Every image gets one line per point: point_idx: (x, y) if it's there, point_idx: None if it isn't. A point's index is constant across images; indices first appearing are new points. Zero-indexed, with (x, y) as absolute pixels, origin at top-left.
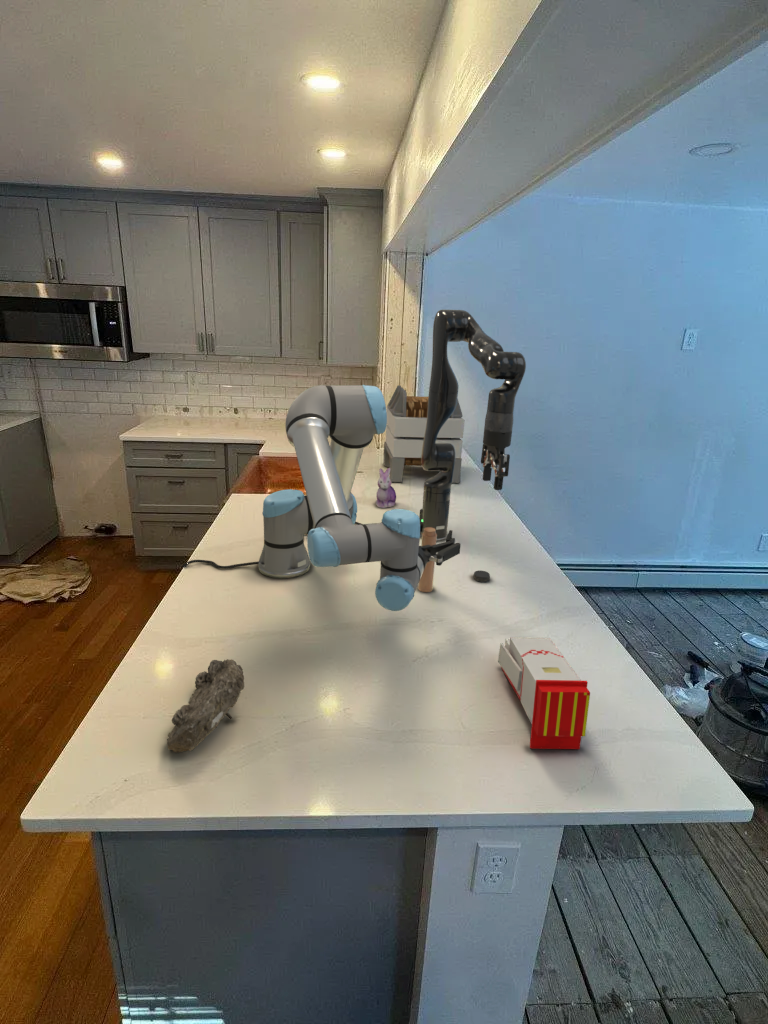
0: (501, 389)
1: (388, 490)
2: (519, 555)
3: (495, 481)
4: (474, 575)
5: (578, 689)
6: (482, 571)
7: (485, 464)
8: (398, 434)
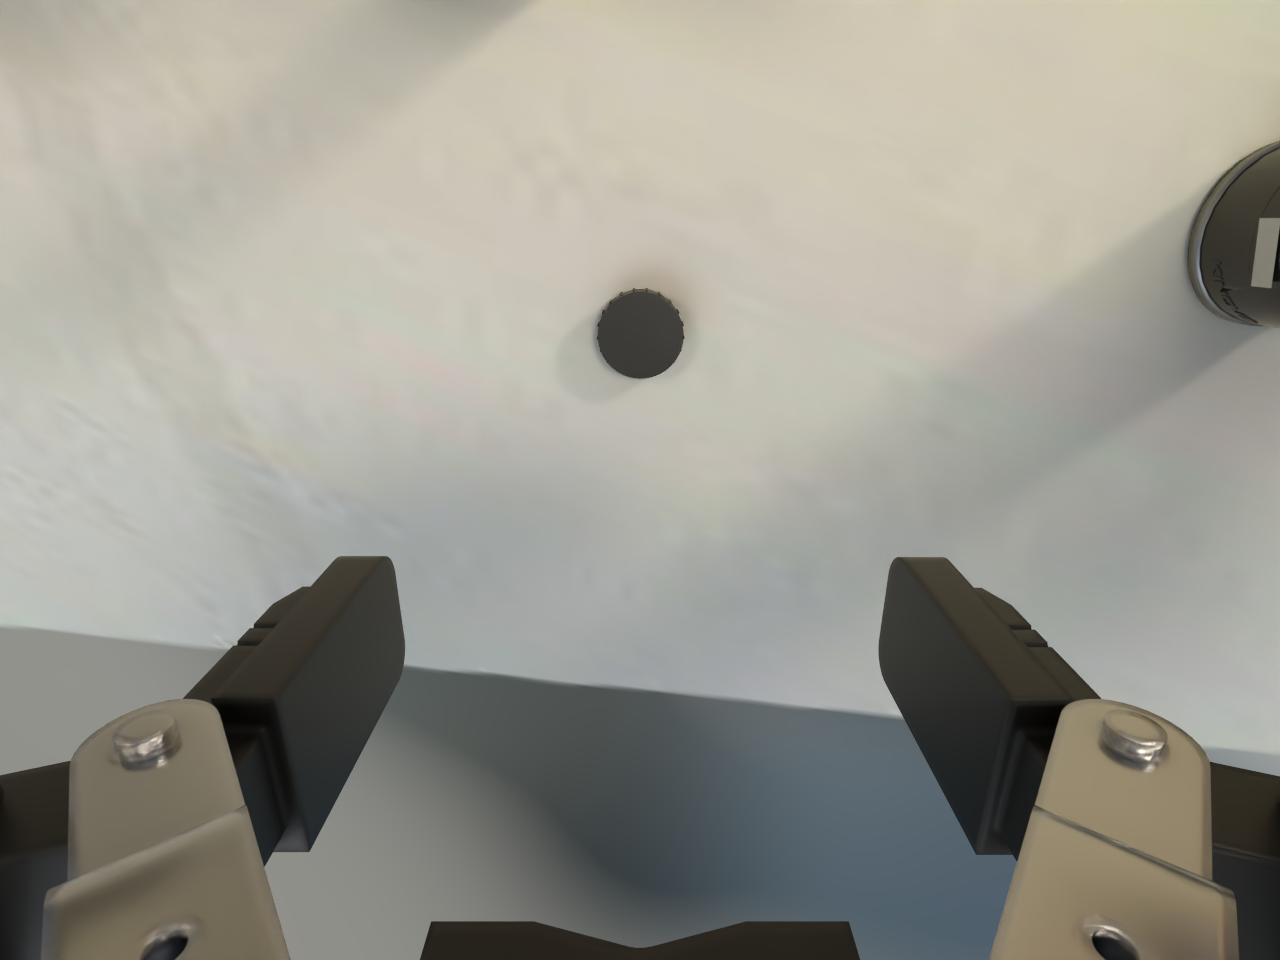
0: None
1: None
2: (870, 623)
3: (270, 636)
4: (639, 291)
5: None
6: (668, 350)
7: (1041, 793)
8: None
